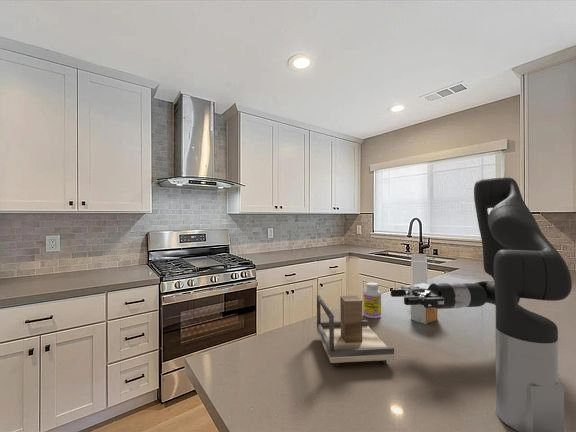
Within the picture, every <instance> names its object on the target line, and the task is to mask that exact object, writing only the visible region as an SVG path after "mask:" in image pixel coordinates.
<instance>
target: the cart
mask: <svg viewBox="0 0 576 432" xmlns="http://www.w3.org/2000/svg"><path fill="white" fill-rule="evenodd" d="M321 308H322V309H323V311H324V312H325V314H326V316H327V317H328V320H329V321H321V319H322V318H321V317H322V315H321V314H322V313H321ZM316 332H317V335H318V337H319V339H320V342H321V344H322V346H323V348H324V351H325V353H326V355H327V357H328V360H329V362H330V364H333V366H334V367H337V366H340V363H341V364H342V363H355V362H356V363H357V362H358V363H360V362H373V361H374V362H378V361H379V363H380V364H386V363H387V361H395V347H394V346H387V344H386V343H384V341H382V339H381V338H380V337H379V336H378V335H377V333H376V332H374V331H373V329H372V328H370V326H369V321H368V319H362V342H355V343H345V342H344V340H343V338H342V337H341V320H336V321H335V316H334V314H333V313H332V311H331V309H330V308H329V306H328V305H327V303H326V302H325V301H324V299H323V298H322V296H321V295H319V294H317V295H316Z"/></svg>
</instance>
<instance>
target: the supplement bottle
mask: <svg viewBox="0 0 576 432" xmlns="http://www.w3.org/2000/svg"><path fill="white" fill-rule="evenodd" d="M365 286H366V288H365V289H364V291H363V316H364V317H366V318H369V319H379V318H381V316H382V292H381V290H380V289H379V283H377V282H373V281H372V282H371V281H370V282H369V281H368V282H366V283H365Z"/></svg>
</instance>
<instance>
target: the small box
mask: <svg viewBox="0 0 576 432" xmlns="http://www.w3.org/2000/svg"><path fill="white" fill-rule="evenodd" d="M430 285H431V283H430V284H429V283H427V284H425V283H421V284H416V285H413V286H411V285H410V287H419V288H425V289H426V290H427V289H428V288H429V286H430ZM413 296H414V295H413ZM410 320H412V321H415V322H417V323H419V324H420V323H421V324H424V325H427V324H429V323H430V324H431V323H433V322H435V321H437V320H438V309H436V308H434V307H433V308H425V307H424V305H423V306H419V305H410Z"/></svg>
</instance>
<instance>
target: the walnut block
mask: <svg viewBox="0 0 576 432" xmlns="http://www.w3.org/2000/svg"><path fill="white" fill-rule="evenodd" d="M339 298H340V302H339V303H340V304H339V305H340V321H341V337H342V338H343V340H344V342H345V343H355V342H362V320H363V299H361V298H360V297H358V296H357V295H341V296H340V297H339Z"/></svg>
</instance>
